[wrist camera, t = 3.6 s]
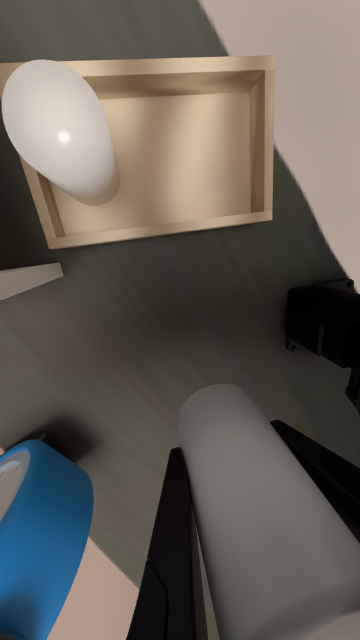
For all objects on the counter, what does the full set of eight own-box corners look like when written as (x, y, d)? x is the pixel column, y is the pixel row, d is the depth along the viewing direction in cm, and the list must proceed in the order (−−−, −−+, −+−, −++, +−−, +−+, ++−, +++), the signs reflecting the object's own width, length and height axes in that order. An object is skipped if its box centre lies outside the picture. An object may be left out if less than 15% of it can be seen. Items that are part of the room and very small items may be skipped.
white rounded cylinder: (112, 135, 14) (94, 58, 8) (125, 202, 15) (117, 176, 9) (49, 140, 13) (-17, 61, 8) (68, 209, 14) (24, 184, 9)
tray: (253, 85, 15) (274, 55, 12) (254, 223, 18) (272, 219, 15) (16, 97, 13) (-11, 63, 10) (62, 248, 16) (49, 249, 13)
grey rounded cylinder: (252, 375, 10) (411, 555, 4) (254, 437, 11) (376, 638, 5) (169, 395, 9) (218, 630, 4) (182, 458, 10) (232, 701, 5)
